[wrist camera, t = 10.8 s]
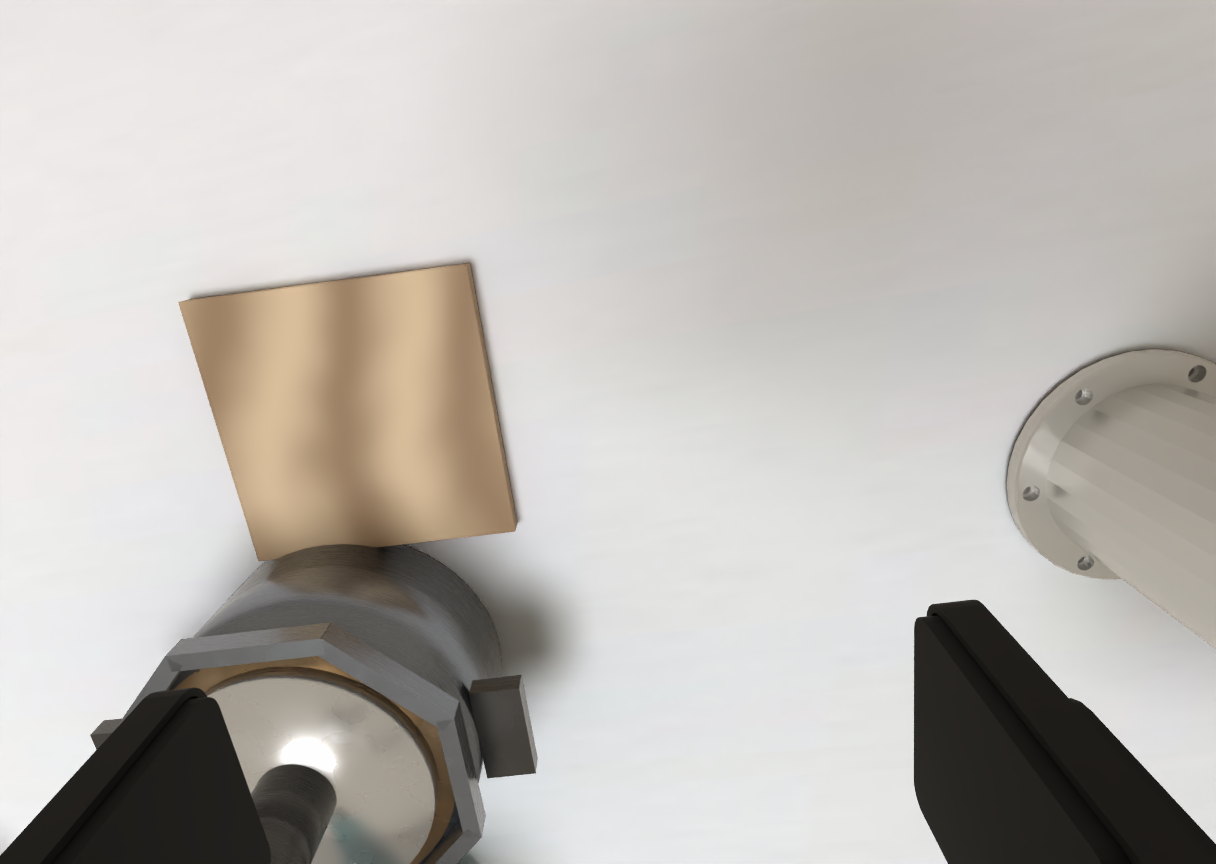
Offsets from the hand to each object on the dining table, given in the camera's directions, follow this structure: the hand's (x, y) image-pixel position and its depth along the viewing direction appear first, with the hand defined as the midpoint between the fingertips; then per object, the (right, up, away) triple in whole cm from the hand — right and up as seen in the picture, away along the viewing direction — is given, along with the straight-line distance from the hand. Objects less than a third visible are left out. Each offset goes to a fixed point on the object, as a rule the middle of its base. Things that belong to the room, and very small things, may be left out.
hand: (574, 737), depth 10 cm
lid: (-14, -12, +24) cm, 30 cm away
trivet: (-12, +5, +28) cm, 31 cm away
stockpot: (-14, -9, +33) cm, 37 cm away
